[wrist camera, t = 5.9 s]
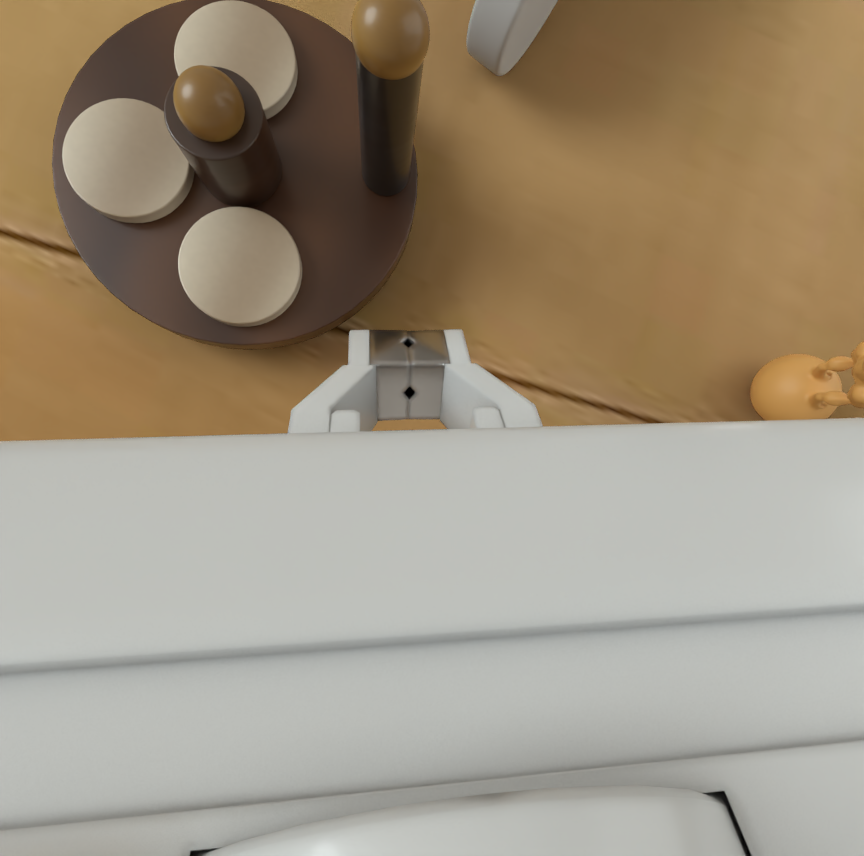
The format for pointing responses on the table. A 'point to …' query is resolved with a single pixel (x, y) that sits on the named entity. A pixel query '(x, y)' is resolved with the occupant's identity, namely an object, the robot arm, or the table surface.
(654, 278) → the table surface
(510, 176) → the table surface
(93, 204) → the brown round base
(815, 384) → the figurine
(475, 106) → the table surface
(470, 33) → the game controller
